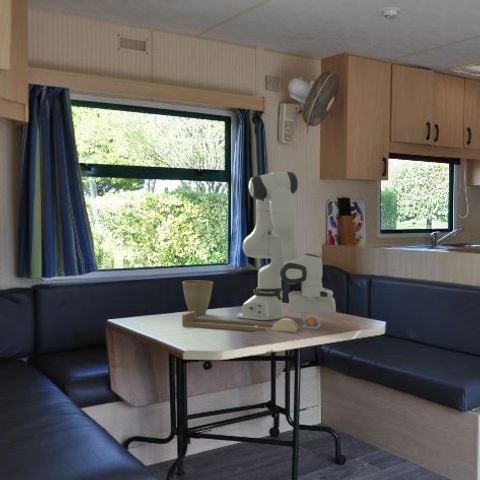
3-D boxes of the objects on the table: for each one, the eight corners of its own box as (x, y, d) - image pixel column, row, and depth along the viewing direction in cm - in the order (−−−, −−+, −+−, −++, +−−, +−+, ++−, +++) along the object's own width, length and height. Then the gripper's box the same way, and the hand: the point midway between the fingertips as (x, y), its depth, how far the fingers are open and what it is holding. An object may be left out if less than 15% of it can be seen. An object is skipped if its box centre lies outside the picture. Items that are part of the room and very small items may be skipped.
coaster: (301, 329, 252) (301, 325, 252) (305, 326, 258) (305, 322, 258) (317, 330, 249) (317, 326, 249) (321, 327, 256) (321, 323, 256)
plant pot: (178, 316, 282) (178, 283, 282) (187, 311, 297) (187, 279, 296) (208, 317, 279) (208, 284, 278) (216, 312, 294) (216, 280, 293)
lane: (182, 337, 258) (182, 314, 258) (193, 332, 269) (192, 310, 268) (293, 346, 241) (293, 322, 241) (299, 341, 251) (300, 317, 251)
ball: (306, 327, 253) (306, 317, 253) (308, 325, 257) (308, 316, 256) (315, 327, 251) (315, 318, 251) (317, 326, 255) (317, 316, 255)
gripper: (286, 291, 254) (286, 323, 255) (333, 293, 247) (333, 326, 247) (290, 289, 260) (290, 320, 260) (336, 291, 253) (336, 323, 253)
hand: (311, 323), depth 254 cm, fingers closed on ball, 4 cm apart
